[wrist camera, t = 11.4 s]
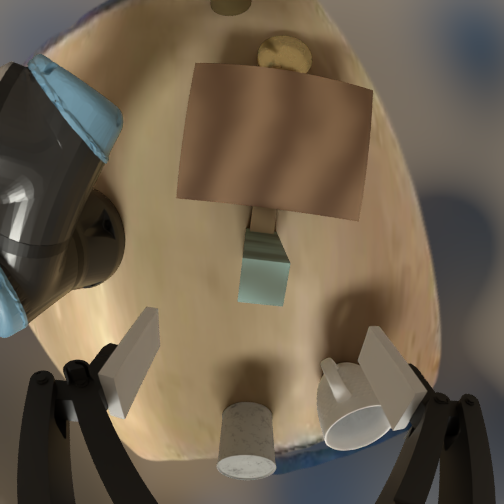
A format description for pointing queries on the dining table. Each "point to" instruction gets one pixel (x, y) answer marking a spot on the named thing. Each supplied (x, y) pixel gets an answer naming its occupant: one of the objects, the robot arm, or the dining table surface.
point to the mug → (348, 407)
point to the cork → (230, 6)
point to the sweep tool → (263, 261)
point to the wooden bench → (275, 140)
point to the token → (285, 54)
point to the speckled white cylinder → (246, 442)
